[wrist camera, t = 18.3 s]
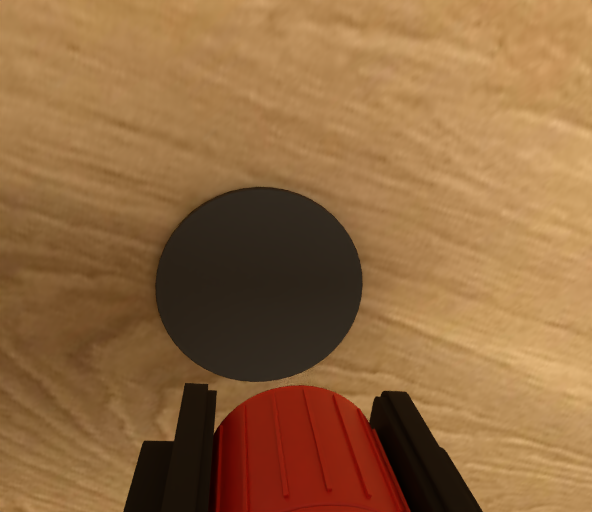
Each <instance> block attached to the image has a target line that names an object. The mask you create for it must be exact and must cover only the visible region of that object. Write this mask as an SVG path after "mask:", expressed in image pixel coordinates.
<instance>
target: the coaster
mask: <svg viewBox="0 0 592 512" xmlns="http://www.w3.org/2000/svg"><path fill="white" fill-rule="evenodd" d="M361 295H362V270H361V265H360V260H359V257H358V254H357V251H356V248H355V246H354V244H353V242H352V240H351V238H350V236H349V235H348V233H347V232H346V230H345V229H344V227H343V226H342V225H341V224H340V223H339V222H338V221H337V219H336V218H335V217H334V216H333V215H332V214H331V213H329V212H328V211H327V210H326V209H325V208H324V207H322V206H321V205H319V204H317V203H316V202H314V201H313V200H311V199H309V198H307V197H305V196H302V195H300V194H298V193H294V192H291V191H288V190H284V189H278V188H270V187H253V188H243V189H239V190H235V191H230V192H227V193H225V194H222V195H219V196H217V197H215V198H213V199H211V200H209V201H207V202H205V203H204V204H202V205H201V206H199V207H198V208H197V209H195V210H194V211H192V212H191V213H190V214H189V215H188V216H187V217H186V218H185V219H184V220H183V221H182V222H181V223H180V225H179V226H178V227H177V228H176V230H175V231H174V232H173V234H172V235H171V237H170V239H169V240H168V242H167V244H166V246H165V248H164V251H163V253H162V256H161V258H160V262H159V265H158V269H157V276H156V300H157V305H158V310H159V313H160V316H161V319H162V322H163V324H164V326H165V328H166V330H167V332H168V334H169V335H170V337H171V338H172V340H173V341H174V343H175V344H176V345H177V346H178V347H179V349H180V350H181V351H182V352H183V353H184V354H185V355H186V356H188V357H189V358H190V359H191V360H192V361H194V362H195V363H197V364H198V365H200V366H201V367H203V368H204V369H206V370H209V371H211V372H213V373H215V374H217V375H220V376H223V377H226V378H230V379H235V380H239V381H250V382H264V381H272V380H279V379H283V378H287V377H290V376H293V375H296V374H298V373H301V372H303V371H305V370H307V369H309V368H311V367H313V366H314V365H316V364H317V363H319V362H320V361H322V360H323V359H324V358H325V357H327V356H328V355H329V354H330V353H331V352H332V351H333V350H334V349H335V348H336V347H337V346H338V345H339V344H340V343H341V341H342V340H343V339H344V337H345V336H346V334H347V333H348V331H349V330H350V328H351V326H352V324H353V322H354V320H355V317H356V315H357V312H358V309H359V305H360V301H361Z"/></svg>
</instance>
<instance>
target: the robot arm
mask: <svg viewBox="0 0 592 512" xmlns="http://www.w3.org/2000/svg"><path fill="white" fill-rule="evenodd" d="M216 395H217V391H213V390H208V384H194V383H185V386H184V391H183V397H182V402H181V407H180V413H179V418H178V423H177V429H176V434H175V439H174V441H144V442H143V444H142V447H141V451H140V454H139V458H138V461H137V465H136V469H135V472H134V476H133V479H132V483H131V486H130V490H129V493H128V497H127V501H126V504H125V508H124V511H123V512H208V507H209V493H210V479H211V465H212V451H213V437H214V423H215V409H216ZM369 424H370V426H371V428H372V429H375V431H376V433H377V435H378V437H379V440H380V442H381V444H382V447H383V449H384V451H385V454H386V456H387V458H388V460H389V463H390V465H391V467H392V470H393V472H394V474H395V477H396V479H397V481H398V483H399V486H400V488H401V490H402V493H403V495H404V497H405V500H406V502H407V504H408V506H409V509H410V511H411V512H483V511H482V510H481V508H480V506H479V505H478V503H477V501H476V500H475V498H474V496H473V495H472V493H471V491H470V490H469V488H468V487H467V485H466V483H465V482H464V480H463V478H462V477H461V475H460V473H459V472H458V470H457V468H456V467H455V465H454V463H453V462H452V460H451V459H450V457H449V455H448V454H447V452H446V451H445V450H444V449H443V448H441V447H439V445H438V443H437V442H436V440H435V438H434V437H433V435H432V433H431V432H430V430H429V428H428V427H427V425H426V423H425V422H424V420H423V418H422V417H421V415H420V413H419V412H418V410H417V408H416V407H415V405H414V403H413V401H412V400H411V398H410V396H409V395H408V394H407V392H400V391H383V392H382V394H381V397H377V396H376V397H375V399H374V401H373V406H372V412H371V417H370V422H369Z"/></svg>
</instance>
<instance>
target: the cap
mask: <svg viewBox="0 0 592 512" xmlns="http://www.w3.org/2000/svg"><path fill="white" fill-rule="evenodd" d="M208 512H411V511H410V509H409V506H408V504H407V502H406V500H405V497H404V495H403V493H402V490H401V488H400V486H399V483H398V481H397V479H396V477H395V474H394V472H393V470H392V467H391V465H390V463H389V460H388V458H387V456H386V454H385V451H384V449H383V447H382V444H381V442H380V440H379V437H378V435H377V433H376V431H375V429H372V428H371V426H370V424H369V422H368V420H367V418H366V417H365V416H364V414H363V413H362V412H361V410H360V409H359V408H357V407H356V406H355V405H354V404H353V403H352V402H350V401H349V400H348V399H346V398H345V397H343V396H341V395H339V394H337V393H335V392H332V391H329V390H327V389H323V388H319V387H314V386H304V385H299V386H285V387H279V388H275V389H271V390H268V391H265V392H262V393H260V394H257V395H255V396H253V397H251V398H249V399H248V400H246V401H245V402H243V403H242V404H240V405H239V406H237V407H236V408H235V409H234V410H233V411H232V412H230V413H229V414H228V416H227V417H226V418H225V419H224V420H223V421H222V422H221V424H220V425H219V427H218V428H217V430H216V431H215V433H214V437H213V451H212V465H211V479H210V493H209V507H208Z"/></svg>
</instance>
